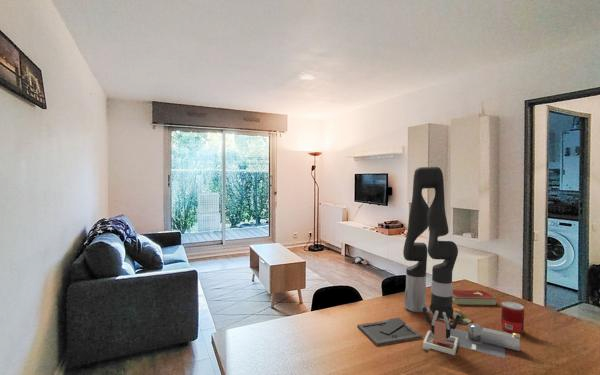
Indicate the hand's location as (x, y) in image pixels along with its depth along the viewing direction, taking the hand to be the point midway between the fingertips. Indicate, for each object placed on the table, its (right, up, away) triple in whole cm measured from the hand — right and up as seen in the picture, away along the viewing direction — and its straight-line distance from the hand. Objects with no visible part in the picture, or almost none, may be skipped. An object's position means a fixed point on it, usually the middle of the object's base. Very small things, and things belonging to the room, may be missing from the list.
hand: (440, 335), depth 121 cm
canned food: (+37, -4, +13) cm, 39 cm away
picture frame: (-17, -5, +11) cm, 21 cm away
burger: (+18, -4, +22) cm, 29 cm away
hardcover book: (+37, -3, +46) cm, 59 cm away
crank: (+20, -3, 0) cm, 20 cm away
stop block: (0, -2, 0) cm, 2 cm away
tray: (0, -4, 0) cm, 4 cm away
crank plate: (+14, -4, +2) cm, 15 cm away
